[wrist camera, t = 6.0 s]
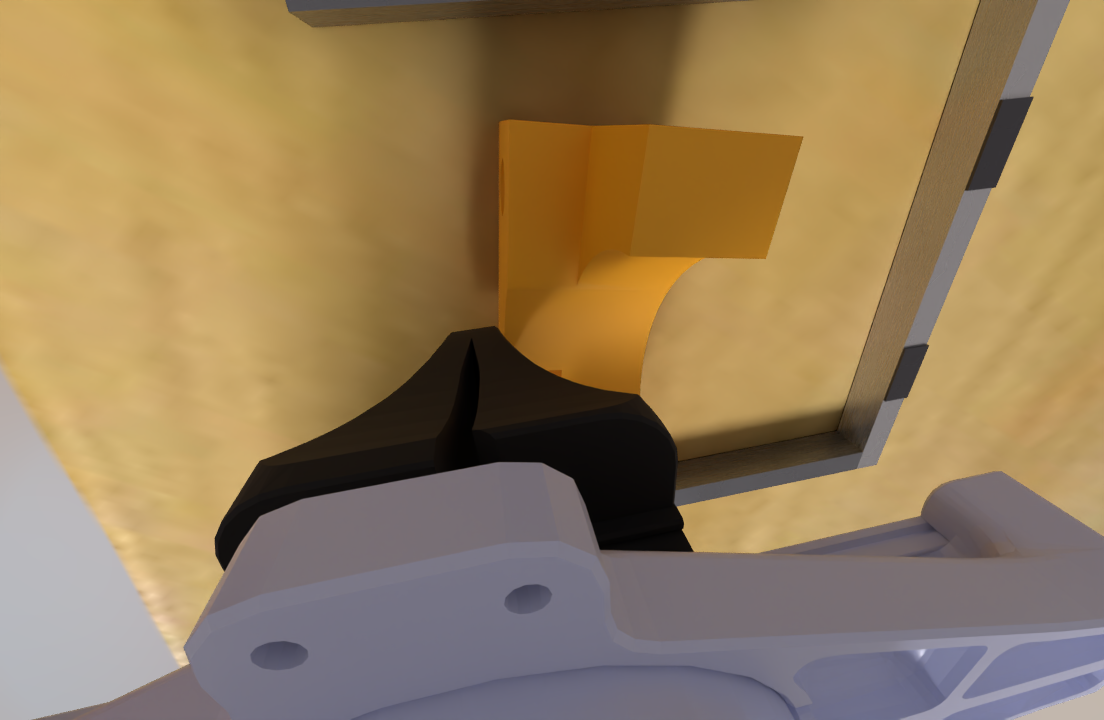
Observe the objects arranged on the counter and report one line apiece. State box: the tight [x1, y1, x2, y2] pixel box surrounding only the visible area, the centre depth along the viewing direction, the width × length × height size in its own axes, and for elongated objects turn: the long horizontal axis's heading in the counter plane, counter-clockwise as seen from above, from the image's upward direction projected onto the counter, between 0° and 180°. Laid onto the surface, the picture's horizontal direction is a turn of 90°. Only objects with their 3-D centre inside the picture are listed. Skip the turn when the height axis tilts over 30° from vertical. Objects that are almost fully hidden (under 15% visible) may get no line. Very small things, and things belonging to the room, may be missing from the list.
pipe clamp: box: [499, 119, 803, 396], centre depth 12 cm, size 12×4×6 cm, turn 176°
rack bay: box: [285, 0, 1070, 507], centre depth 14 cm, size 18×19×2 cm
